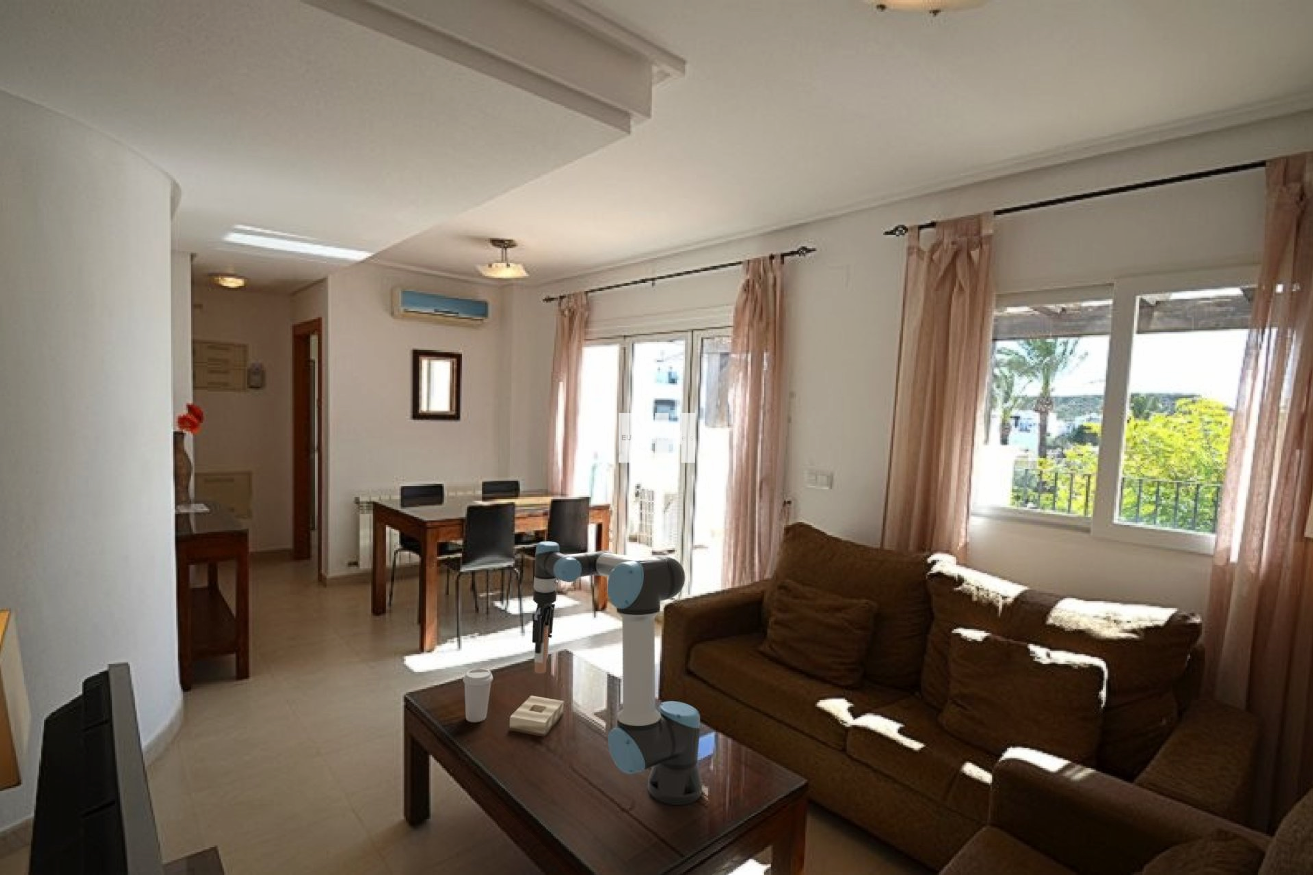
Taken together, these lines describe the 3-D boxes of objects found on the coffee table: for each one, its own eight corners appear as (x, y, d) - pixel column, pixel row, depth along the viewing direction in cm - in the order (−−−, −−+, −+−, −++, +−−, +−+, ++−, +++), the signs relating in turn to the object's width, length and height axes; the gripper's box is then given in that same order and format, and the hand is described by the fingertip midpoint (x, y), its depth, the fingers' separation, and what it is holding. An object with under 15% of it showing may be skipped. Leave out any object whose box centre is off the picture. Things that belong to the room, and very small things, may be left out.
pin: (543, 674, 204) (545, 628, 204) (532, 672, 205) (535, 627, 205) (547, 669, 208) (550, 625, 207) (537, 668, 209) (540, 623, 208)
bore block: (544, 736, 198) (545, 722, 198) (509, 730, 201) (510, 716, 201) (563, 714, 214) (563, 701, 214) (530, 708, 216) (531, 695, 216)
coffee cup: (495, 712, 212) (497, 668, 212) (484, 725, 203) (487, 680, 202) (467, 709, 213) (470, 665, 213) (456, 722, 204) (458, 677, 203)
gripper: (545, 597, 197) (541, 670, 198) (565, 584, 213) (561, 652, 214) (523, 594, 198) (519, 667, 199) (544, 581, 215) (540, 649, 215)
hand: (541, 659), depth 207 cm, fingers closed on pin, 3 cm apart
